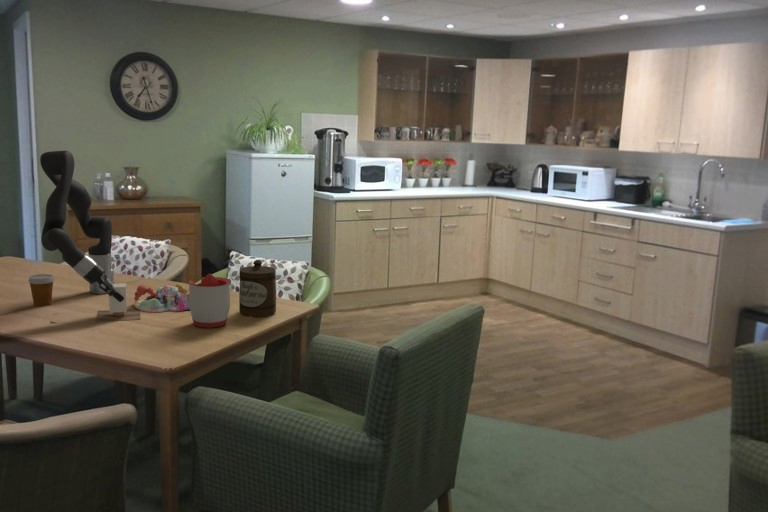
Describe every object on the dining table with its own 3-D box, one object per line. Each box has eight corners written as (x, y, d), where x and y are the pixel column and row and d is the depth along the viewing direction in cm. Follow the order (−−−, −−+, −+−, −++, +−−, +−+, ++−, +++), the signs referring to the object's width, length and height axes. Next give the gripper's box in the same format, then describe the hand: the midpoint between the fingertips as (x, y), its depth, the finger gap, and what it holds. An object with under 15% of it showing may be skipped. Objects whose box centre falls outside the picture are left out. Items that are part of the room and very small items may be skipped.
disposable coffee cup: (45, 309, 281) (43, 280, 279) (24, 307, 283) (22, 277, 281) (60, 303, 290) (59, 275, 288) (40, 301, 292) (38, 273, 290)
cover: (110, 308, 276) (109, 283, 274) (126, 307, 278) (126, 283, 277) (109, 312, 271) (108, 287, 269) (126, 312, 273) (126, 286, 271)
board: (97, 312, 280) (97, 310, 280) (140, 310, 285) (140, 309, 285) (95, 323, 265) (95, 322, 265) (140, 321, 270) (140, 319, 270)
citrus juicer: (206, 315, 282) (206, 266, 278) (239, 323, 273) (239, 273, 269) (176, 324, 269) (176, 273, 265) (210, 332, 260) (210, 279, 256)
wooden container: (232, 314, 285) (232, 261, 281) (251, 306, 299) (252, 255, 295) (263, 319, 280) (264, 265, 276) (282, 310, 294) (283, 259, 290)
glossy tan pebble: (119, 313, 278) (118, 304, 277) (126, 315, 276) (126, 306, 275) (111, 315, 274) (110, 306, 273) (118, 317, 272) (118, 308, 272)
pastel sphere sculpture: (174, 296, 309) (174, 275, 308) (210, 306, 296) (210, 285, 294) (124, 305, 289) (124, 283, 287) (160, 316, 276) (160, 293, 274)
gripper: (95, 266, 262) (129, 295, 268) (97, 258, 275) (129, 287, 281) (80, 280, 261) (115, 309, 267) (82, 272, 274) (116, 300, 280)
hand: (122, 298), depth 274 cm, fingers closed on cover, 6 cm apart
